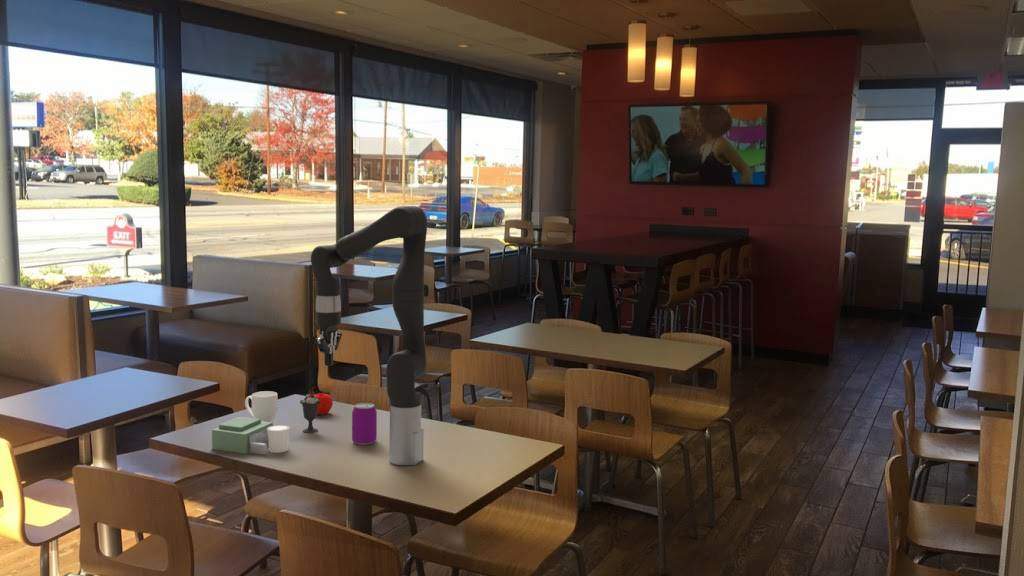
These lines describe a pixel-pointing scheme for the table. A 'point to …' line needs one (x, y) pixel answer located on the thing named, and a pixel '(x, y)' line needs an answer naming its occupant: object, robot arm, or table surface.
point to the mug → (263, 405)
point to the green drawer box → (236, 434)
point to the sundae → (310, 410)
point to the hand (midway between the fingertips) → (329, 365)
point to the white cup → (278, 438)
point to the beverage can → (364, 424)
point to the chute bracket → (258, 442)
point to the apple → (324, 403)
